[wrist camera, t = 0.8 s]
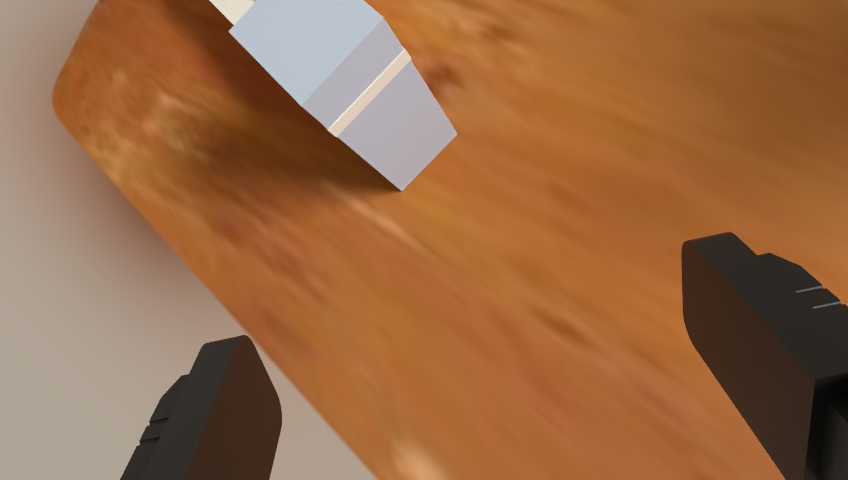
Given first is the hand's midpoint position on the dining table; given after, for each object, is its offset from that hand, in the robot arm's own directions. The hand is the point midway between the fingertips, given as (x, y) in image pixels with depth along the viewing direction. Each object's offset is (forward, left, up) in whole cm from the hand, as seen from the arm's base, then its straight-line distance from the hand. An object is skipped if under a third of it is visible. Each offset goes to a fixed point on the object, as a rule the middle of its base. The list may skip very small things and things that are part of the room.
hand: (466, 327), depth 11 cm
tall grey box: (-9, -11, -20) cm, 25 cm away
